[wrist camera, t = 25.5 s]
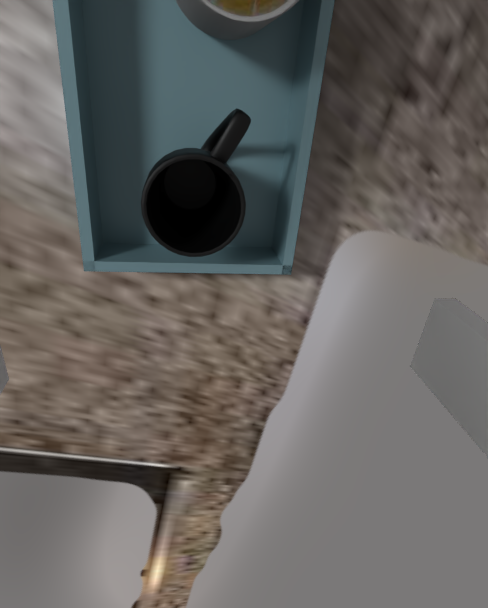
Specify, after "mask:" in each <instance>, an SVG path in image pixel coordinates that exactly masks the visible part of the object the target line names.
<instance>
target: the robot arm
mask: <svg viewBox="0 0 488 608" xmlns="http://www.w3.org/2000/svg"><path fill="white" fill-rule="evenodd" d="M410 367H411V368H412V369H413V370H414V372H415V373H416V374H417V375H418V376H419V378H420V379H421V380H422V381H423V382H424V383H425V385H426V386H427V387H428V388H429V389H430V390H431V392H432V393H433V394H434V395H435V396H436V397H437V399H438V400H439V401H440V402H441V403H442V405H443V406H444V407H445V408H446V409H447V410H448V412H449V413H450V414H451V415H452V416H453V417H454V419H455V420H456V421H457V422H458V423H459V425H460V426H461V427H462V428H463V429H464V430H465V432H466V433H467V434H468V435H469V436H470V437H471V439H472V440H473V441H474V442H475V443H476V445H477V446H478V447H479V448H480V449H481V450H482V452H483V453H484V454H485V455H486V456H487V457H488V322H487V321H485V320H484V319H482V318H481V317H480V316H478V315H477V314H476V313H475V312H473V311H472V310H470V309H469V308H468V307H466V306H465V305H464V304H462V303H461V302H460V301H458V300H457V299H446V298H445V299H444V298H443V299H442V298H441V299H440V298H438V299H437V298H435V300H434V302H433V305H432V308H431V311H430V313H429V316H428V319H427V322H426V324H425V327H424V330H423V333H422V335H421V338H420V341H419V343H418V346H417V349H416V351H415V354H414V357H413V360H412V362H411V365H410ZM8 380H9V377H8V373H7V370H6V366H5V362H4V358H3V354H2V350H1V346H0V394H1V392H2V391H3V389H4V387H5V385H6V383H7V382H8Z"/></svg>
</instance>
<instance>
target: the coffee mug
mask: <svg viewBox="0 0 488 608" xmlns="http://www.w3.org/2000/svg"><path fill="white" fill-rule="evenodd" d="M298 1H299V0H176V2H177V4H178V6H179V7H180V9H181V11H182V12H183V13H184V15H185V16H186V17H187V18H188V20H189V21H190V22H191V23H192V24H193V25H195V26H196V27H197V28H198V29H200V30H201V31H203V32H204V33H206V34H208V35H210V36H212V37H215V38H219V39H224V40H237V39H242V38H245V37H248V36H250V35H252V34H254V33H256V32H257V31H259V30H261V29H262V28H263V27H265V26H266V25H268V24H269V23H271V22H272V21H274V20H275V19H276V18H278V17H279V16H281V15H282V14H284V13H285V12H287V11H288V10H289V9H290V8H292V7H293V6H294V5H295V4H296V3H297V2H298Z"/></svg>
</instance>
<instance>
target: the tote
mask: <svg viewBox="0 0 488 608" xmlns="http://www.w3.org/2000/svg"><path fill="white" fill-rule="evenodd" d="M334 2H335V0H299V1H298V2H297V3H296V4H295V5H294V6H293V7H292V8H290V9H289V10H288V11H287V12H285V13H284V14H282V15H281V16H279V17H278V18H276V19H275V20H274V21H272V22H271V23H269V24H268V25H266V26H265V27H263V28H262V29H261V30H259V31H257V32H256V33H254V34H252V35H250V36H248V37H245V38H242V39H237V40H224V39H219V38H215V37H212V36H210V35H208V34H206V33H204V32H203V31H201V30H200V29H198V28H197V27H196V26H195V25H193V24H192V23H191V22H190V21H189V20H188V18H187V17H186V16H185V15H184V13H183V12H182V11H181V9H180V7H179V6H178V4H177V2H176V0H53V8H54V17H55V26H56V34H57V43H58V51H59V60H60V69H61V77H62V86H63V94H64V103H65V111H66V120H67V129H68V137H69V146H70V154H71V163H72V172H73V180H74V189H75V197H76V206H77V214H78V223H79V232H80V240H81V249H82V257H83V266H84V271H107V272H168V273H229V274H290V275H291V271H292V265H293V259H294V252H295V246H296V240H297V234H298V227H299V221H300V215H301V208H302V202H303V196H304V190H305V183H306V177H307V171H308V165H309V158H310V152H311V146H312V140H313V133H314V127H315V121H316V114H317V108H318V102H319V96H320V89H321V83H322V77H323V71H324V64H325V58H326V52H327V45H328V39H329V33H330V27H331V20H332V14H333V8H334ZM236 108H237V109H240V110H242V111H243V112H245V113H246V114H247V115H248V116H249V117H250V118H251V123H250V126H249V128H248V130H247V132H246V133H245V135H244V137H243V138H242V140H241V141H240V143H239V145H238V146H237V148H236V149H235V151H234V152H233V154H232V155H231V157H230V158H229V160H228V161H227V164H228V166H229V167H230V168H231V170H232V171H233V172H234V174H235V175H236V176H237V178H238V179H239V181H240V183H241V186H242V188H243V190H244V195H245V200H246V212H245V217H244V221H243V225H242V227H241V229H240V230H239V232H238V234H237V236H236V237H235V238H234V239H233V240H232V241H231V243H230V244H228V245H227V246H226V247H224V248H223V249H222V250H220V251H218V252H216V253H213V254H211V255H207V256H202V257H188V256H182V255H178V254H176V253H173V252H171V251H169V250H167V249H166V248H164V247H163V246H162V245H160V244H159V243H158V242H157V241H156V240H155V239H154V238H153V237H152V236H151V234H150V232H149V231H148V229H147V227H146V225H145V222H144V219H143V216H142V210H141V198H142V191H143V188H144V184H145V182H146V179H147V177H148V174H149V172H150V171H151V169H152V168H153V166H154V165H155V164H156V162H158V161H159V160H160V159H161V158H162V157H164V156H165V155H167V154H169V153H171V152H173V151H175V150H178V149H183V148H198V149H201V147H202V146H203V144H204V143H205V141H206V140H207V139H208V137H209V136H210V135H211V134H212V133H213V131H214V130H215V129H216V128H217V127H218V126H219V125H220V123H221V122H222V121H223V120H224V119H225V118H226V117H227V116H228V115H229V114H230V113H231V112H232V111H233V110H235V109H236Z"/></svg>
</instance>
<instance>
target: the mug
mask: <svg viewBox="0 0 488 608" xmlns="http://www.w3.org/2000/svg"><path fill="white" fill-rule="evenodd" d="M250 123H251V118H250V117H249V116H248V115H247V114H246V113H245V112H243V111H242V110H240V109H237V108H236V109H235V110H233V111H232V112H231V113H230V114H229V115H228V116H227V117H226V118H225V119H224V120H223V121H222V122H221V123H220V125H219V126H218V127H217V128H216V129H215V130H214V131H213V133H212V134H211V135H210V136H209V137H208V139H207V140H206V141H205V143H204V144H203V146H202V147H201V149H198V148H183V149H178V150H175V151H173V152H171V153H169V154H167V155H165V156H164V157H162V158H161V159H160V160H159V161H158V162H156V164H155V165H154V166H153V168H152V169H151V171H150V172H149V174H148V177H147V179H146V182H145V184H144V188H143V191H142V198H141V210H142V216H143V219H144V222H145V225H146V227H147V229H148V231H149V232H150V234H151V236H152V237H153V238H154V239H155V240H156V241H157V242H158V243H159V244H160V245H162V246H163V247H164V248H166V249H167V250H169V251H171V252H173V253H176V254H178V255H182V256H188V257H202V256H207V255H211V254H213V253H216V252H218V251H220V250H222V249H223V248H224V247H226V246H227V245H228V244H230V243H231V241H232V240H233V239H234V238H235V237H236V236H237V234H238V232H239V230H240V229H241V227H242V225H243V221H244V217H245V212H246V200H245V195H244V190H243V188H242V186H241V183H240V181H239V179H238V178H237V176H236V175H235V174H234V172H233V171H232V170H231V168H230V167H229V166H228V164H227V161H228V160H229V158H230V157H231V155H232V154H233V152H234V151H235V149H236V148H237V146H238V145H239V143H240V141H241V140H242V138H243V137H244V135H245V133H246V132H247V130H248V128H249V126H250Z"/></svg>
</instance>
